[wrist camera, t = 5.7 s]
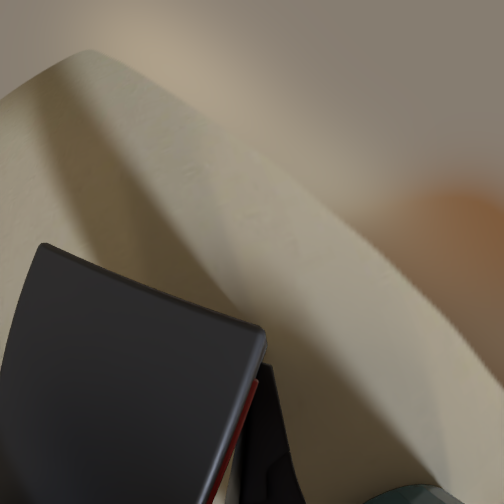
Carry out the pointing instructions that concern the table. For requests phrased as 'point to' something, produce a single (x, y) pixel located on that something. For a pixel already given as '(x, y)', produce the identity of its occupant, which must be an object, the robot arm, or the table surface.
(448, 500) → the teal shallow round dish
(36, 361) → the black rectangular box
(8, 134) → the table surface
